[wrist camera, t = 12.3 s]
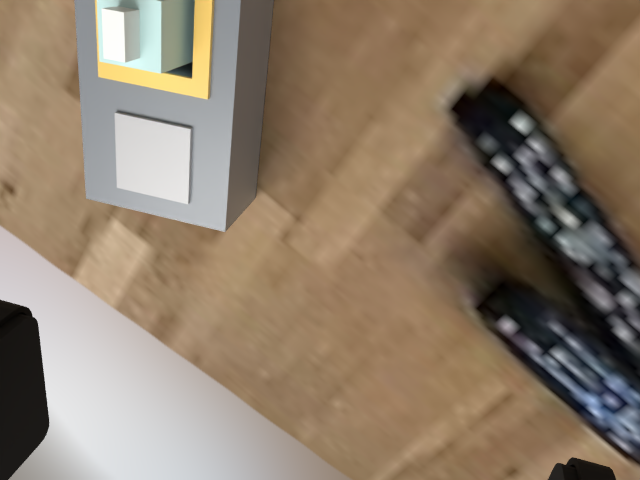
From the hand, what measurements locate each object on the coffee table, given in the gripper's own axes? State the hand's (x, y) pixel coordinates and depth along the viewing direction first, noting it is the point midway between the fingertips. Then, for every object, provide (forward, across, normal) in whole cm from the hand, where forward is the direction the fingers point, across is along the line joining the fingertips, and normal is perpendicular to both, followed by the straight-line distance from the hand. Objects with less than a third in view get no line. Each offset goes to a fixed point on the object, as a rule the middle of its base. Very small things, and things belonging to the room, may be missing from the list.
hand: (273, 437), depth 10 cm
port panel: (+30, +15, +2) cm, 34 cm away
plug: (+29, +15, -2) cm, 33 cm away
